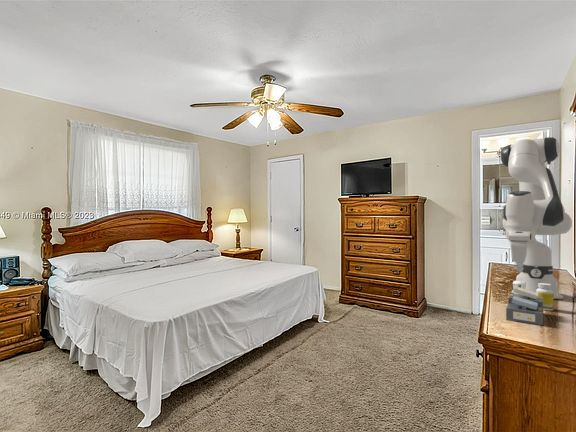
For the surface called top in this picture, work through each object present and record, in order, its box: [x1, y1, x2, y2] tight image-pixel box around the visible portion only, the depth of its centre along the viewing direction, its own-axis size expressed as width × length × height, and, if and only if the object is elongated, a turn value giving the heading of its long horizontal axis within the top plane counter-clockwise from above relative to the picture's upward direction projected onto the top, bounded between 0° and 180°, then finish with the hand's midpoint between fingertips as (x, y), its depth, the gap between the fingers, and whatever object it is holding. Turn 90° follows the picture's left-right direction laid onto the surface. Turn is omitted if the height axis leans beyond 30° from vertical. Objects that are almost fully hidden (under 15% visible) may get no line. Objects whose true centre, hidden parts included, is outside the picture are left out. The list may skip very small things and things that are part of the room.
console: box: [505, 292, 544, 327], centre depth 116 cm, size 18×10×7 cm, turn 141°
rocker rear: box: [514, 286, 538, 299], centre depth 119 cm, size 6×7×1 cm
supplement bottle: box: [536, 283, 555, 311], centre depth 126 cm, size 5×5×10 cm
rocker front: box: [512, 296, 538, 310], centre depth 112 cm, size 6×7×1 cm
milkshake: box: [512, 280, 528, 295], centre depth 135 cm, size 5×5×10 cm
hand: (519, 271), depth 120 cm, fingers closed
